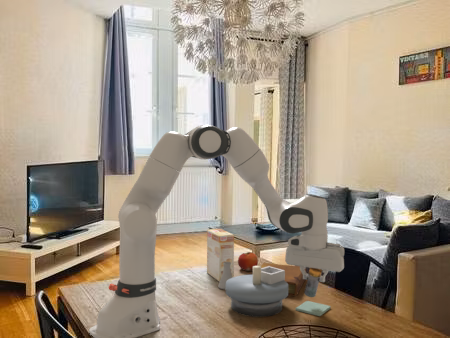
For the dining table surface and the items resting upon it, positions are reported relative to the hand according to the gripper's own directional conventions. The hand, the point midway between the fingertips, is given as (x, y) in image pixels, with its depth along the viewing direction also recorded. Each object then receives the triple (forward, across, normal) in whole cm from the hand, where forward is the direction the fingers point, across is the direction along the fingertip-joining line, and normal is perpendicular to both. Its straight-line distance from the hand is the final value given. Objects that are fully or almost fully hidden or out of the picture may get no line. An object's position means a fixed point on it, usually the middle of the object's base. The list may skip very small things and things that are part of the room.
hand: (313, 280), depth 154 cm
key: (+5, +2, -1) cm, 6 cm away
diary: (+11, +21, -19) cm, 31 cm away
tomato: (+10, +42, -32) cm, 53 cm away
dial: (+5, +18, +8) cm, 20 cm away
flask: (+10, +38, -5) cm, 39 cm away
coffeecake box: (+10, +48, -16) cm, 51 cm away
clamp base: (+10, +18, +8) cm, 22 cm away
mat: (+10, 0, 0) cm, 10 cm away
